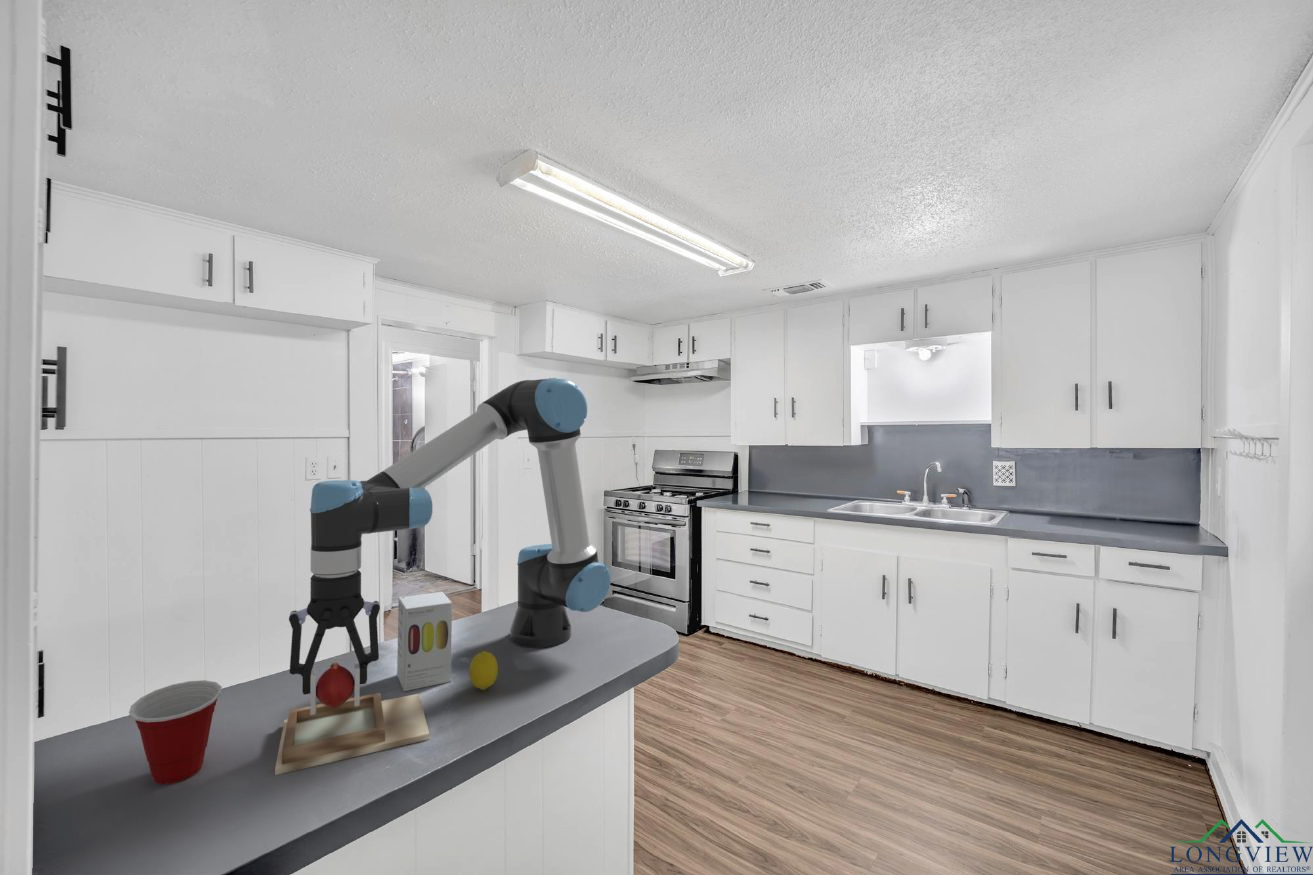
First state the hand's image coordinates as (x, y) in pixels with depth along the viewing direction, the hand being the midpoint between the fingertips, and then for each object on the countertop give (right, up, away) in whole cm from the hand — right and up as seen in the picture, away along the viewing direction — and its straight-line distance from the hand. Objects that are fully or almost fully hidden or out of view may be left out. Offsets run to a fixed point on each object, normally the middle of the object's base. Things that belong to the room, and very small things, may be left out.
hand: (335, 706), depth 98 cm
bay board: (+3, -5, +2) cm, 6 cm away
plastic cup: (-18, -5, -11) cm, 22 cm away
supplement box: (+6, -5, +23) cm, 24 cm away
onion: (0, 0, 0) cm, 0 cm away
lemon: (+20, -5, +18) cm, 27 cm away
